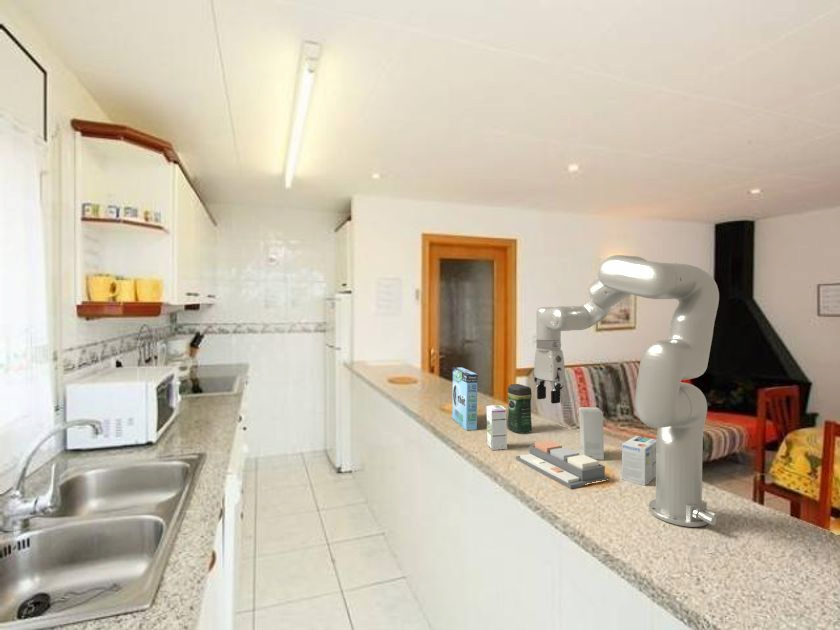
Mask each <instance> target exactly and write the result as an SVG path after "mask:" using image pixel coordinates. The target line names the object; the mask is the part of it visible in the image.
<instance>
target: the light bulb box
mask: <svg viewBox="0 0 840 630" xmlns="http://www.w3.org/2000/svg"><path fill="white" fill-rule="evenodd" d="M654 479H656V439H655V438H649V437H643V436H640V435H639V436H638V435H634V436H633V437H631V438H629V439H627V440H626V441H624V442H622V444H621V480H624V481H627V482H630V483H634V484H637V485H641V486H646V485H648V484H649V483H650V482H652V480H654Z"/></svg>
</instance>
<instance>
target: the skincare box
mask: <svg viewBox="0 0 840 630" xmlns="http://www.w3.org/2000/svg"><path fill="white" fill-rule="evenodd" d="M578 409H579V411H578V414H579V415H578V417H579V453H580V455H585V456H588V457H590V458H592V459H595V460H597V461H604V460H605V457H604V456H605V454H604V453H605V452H604V450H605V449H604V412H603V411H602V410H601V408H599V407H596V406H593V407H588V406H586V407H584V406H583V407H582V406H581V407H580V406H579V408H578Z"/></svg>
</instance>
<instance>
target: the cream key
mask: <svg viewBox="0 0 840 630" xmlns="http://www.w3.org/2000/svg"><path fill="white" fill-rule="evenodd" d="M599 462H600V460H595V459H592V458H590V457H588V456H585V455H582V454H579V455H578V456H573V457H568V463H570V464H572V465H574V466H576V467H578V468H580V469H587V468H592V467H597V466H598V465H599V464H600V463H599Z"/></svg>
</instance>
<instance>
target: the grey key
mask: <svg viewBox="0 0 840 630" xmlns="http://www.w3.org/2000/svg"><path fill="white" fill-rule="evenodd" d="M550 455H552V456H555V457H557V458H559V459H561V460H563V461H565V460H568V457H573V456H578V455H580V452H579V451H576V450H573V449H571V448H568V447H567V446H563V447H562V448H558V449H552V450H550Z"/></svg>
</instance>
